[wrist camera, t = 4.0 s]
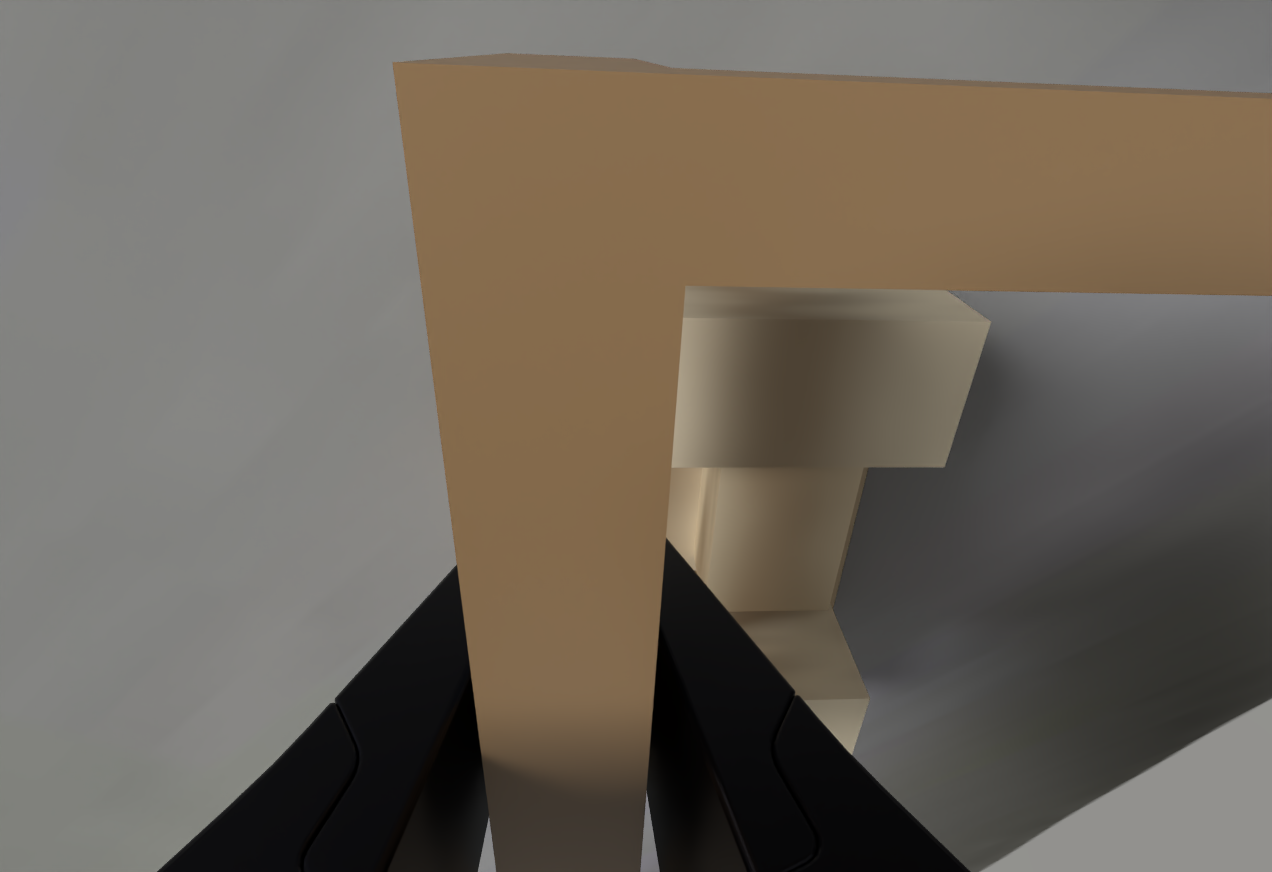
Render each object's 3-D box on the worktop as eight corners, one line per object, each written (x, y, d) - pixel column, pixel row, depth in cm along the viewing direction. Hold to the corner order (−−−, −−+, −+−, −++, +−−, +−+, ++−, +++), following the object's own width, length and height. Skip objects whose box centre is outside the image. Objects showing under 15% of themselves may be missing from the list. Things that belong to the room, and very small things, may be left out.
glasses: (1372, 90, 8) (2274, 139, 4) (1034, 724, 14) (1232, 1022, 10) (499, 53, 7) (374, 62, 3) (538, 742, 13) (516, 1074, 9)
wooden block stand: (911, 242, 19) (1039, 322, 13) (819, 621, 26) (877, 770, 21) (446, 233, 18) (382, 314, 13) (490, 626, 26) (461, 782, 20)
